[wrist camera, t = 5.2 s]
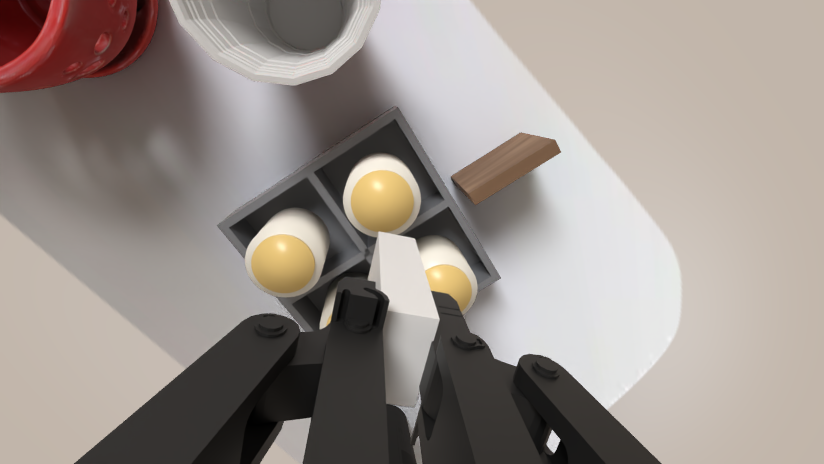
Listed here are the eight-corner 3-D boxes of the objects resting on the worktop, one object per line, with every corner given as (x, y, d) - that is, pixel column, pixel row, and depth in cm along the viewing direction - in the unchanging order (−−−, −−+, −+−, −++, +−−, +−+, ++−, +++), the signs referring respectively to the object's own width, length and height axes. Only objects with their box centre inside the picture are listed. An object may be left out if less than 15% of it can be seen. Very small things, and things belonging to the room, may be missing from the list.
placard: (450, 176, 36) (468, 193, 29) (520, 132, 35) (555, 139, 29) (457, 188, 36) (476, 207, 30) (526, 144, 36) (562, 154, 29)
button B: (334, 175, 31) (326, 190, 26) (390, 139, 30) (394, 147, 25) (371, 229, 32) (371, 253, 27) (425, 195, 32) (435, 213, 27)
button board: (235, 210, 35) (216, 225, 31) (394, 106, 34) (397, 107, 30) (344, 344, 40) (340, 373, 36) (486, 258, 39) (501, 278, 34)
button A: (250, 230, 32) (226, 255, 26) (304, 195, 31) (290, 213, 26) (290, 280, 33) (275, 313, 28) (342, 247, 33) (337, 274, 27)
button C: (314, 291, 36) (305, 323, 31) (362, 261, 36) (361, 288, 31) (347, 332, 38) (343, 369, 33) (393, 304, 37) (397, 337, 32)
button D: (390, 256, 33) (393, 284, 28) (443, 223, 33) (456, 246, 28) (422, 302, 35) (431, 337, 30) (473, 271, 34) (491, 301, 29)
